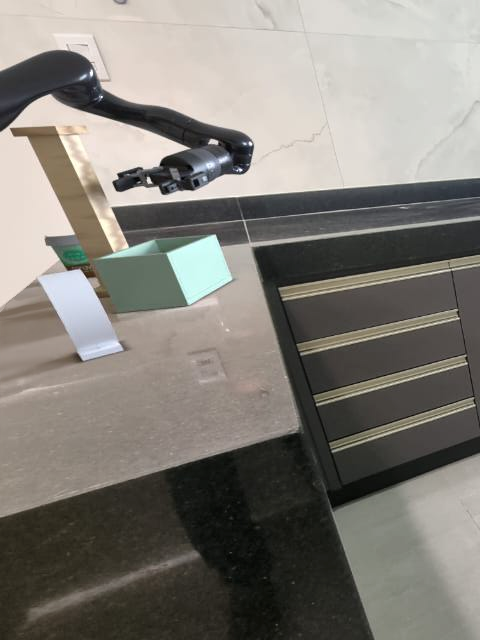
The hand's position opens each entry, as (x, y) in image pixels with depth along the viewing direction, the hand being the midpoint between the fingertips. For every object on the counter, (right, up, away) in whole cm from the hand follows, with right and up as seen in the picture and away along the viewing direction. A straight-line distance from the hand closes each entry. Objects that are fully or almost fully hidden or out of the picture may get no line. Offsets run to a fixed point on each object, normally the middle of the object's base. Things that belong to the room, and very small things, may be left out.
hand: (138, 188), depth 105 cm
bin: (+7, -21, +2) cm, 22 cm away
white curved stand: (+19, -33, -26) cm, 46 cm away
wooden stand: (-10, -19, +7) cm, 23 cm away
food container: (-30, -14, +21) cm, 39 cm away
